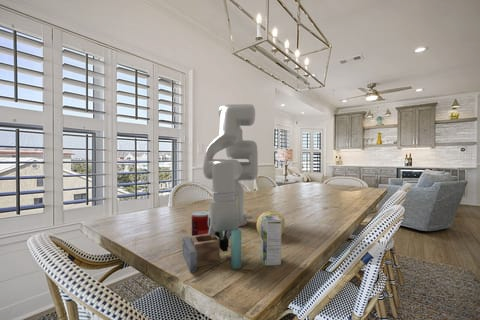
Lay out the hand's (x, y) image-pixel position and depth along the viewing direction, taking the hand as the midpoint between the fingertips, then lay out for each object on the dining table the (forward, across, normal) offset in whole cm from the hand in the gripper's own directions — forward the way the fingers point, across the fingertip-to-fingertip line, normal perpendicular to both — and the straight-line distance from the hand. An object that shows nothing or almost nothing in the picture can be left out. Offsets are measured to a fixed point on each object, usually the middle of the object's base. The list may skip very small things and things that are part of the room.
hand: (223, 249), depth 80 cm
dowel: (+2, -1, +9) cm, 9 cm away
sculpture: (+3, -25, -10) cm, 27 cm away
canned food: (+3, +3, -19) cm, 19 cm away
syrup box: (+2, -12, +11) cm, 16 cm away
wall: (+2, +12, 0) cm, 12 cm away
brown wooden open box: (+2, +7, 0) cm, 7 cm away
